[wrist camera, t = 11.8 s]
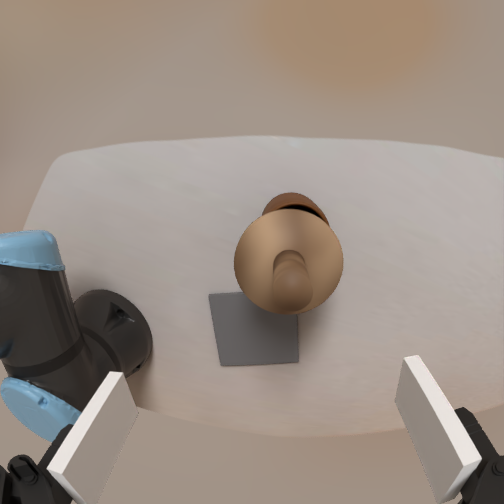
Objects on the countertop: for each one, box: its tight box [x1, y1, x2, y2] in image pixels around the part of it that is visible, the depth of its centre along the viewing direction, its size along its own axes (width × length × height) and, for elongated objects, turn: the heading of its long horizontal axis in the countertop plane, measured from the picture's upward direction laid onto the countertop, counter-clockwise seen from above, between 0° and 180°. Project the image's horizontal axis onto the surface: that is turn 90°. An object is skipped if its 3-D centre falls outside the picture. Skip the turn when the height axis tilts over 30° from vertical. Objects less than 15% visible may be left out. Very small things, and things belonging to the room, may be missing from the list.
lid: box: [234, 209, 343, 315], centre depth 29 cm, size 11×11×8 cm
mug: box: [262, 193, 330, 227], centre depth 37 cm, size 12×8×9 cm, turn 169°
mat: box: [209, 292, 299, 365], centre depth 45 cm, size 12×12×1 cm
